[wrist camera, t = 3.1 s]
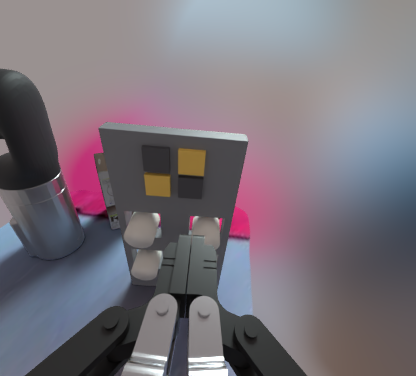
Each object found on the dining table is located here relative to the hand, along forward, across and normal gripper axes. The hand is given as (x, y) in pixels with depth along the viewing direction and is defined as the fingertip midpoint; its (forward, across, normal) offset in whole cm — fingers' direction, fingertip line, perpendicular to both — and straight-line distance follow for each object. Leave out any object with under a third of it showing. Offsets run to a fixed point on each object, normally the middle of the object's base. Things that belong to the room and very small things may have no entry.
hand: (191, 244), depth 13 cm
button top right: (+13, -2, +14) cm, 19 cm away
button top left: (+13, +7, +14) cm, 20 cm away
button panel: (+17, +3, +28) cm, 33 cm away
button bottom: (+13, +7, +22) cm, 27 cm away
